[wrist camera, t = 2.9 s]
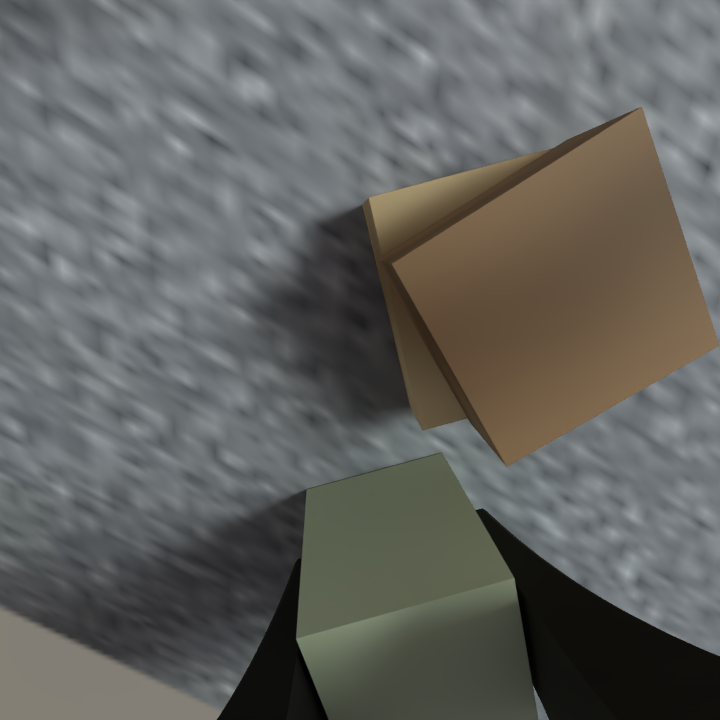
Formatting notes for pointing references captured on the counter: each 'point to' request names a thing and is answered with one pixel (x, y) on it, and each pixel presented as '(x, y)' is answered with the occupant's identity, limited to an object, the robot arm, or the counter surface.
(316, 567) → the sage block
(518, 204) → the walnut slab
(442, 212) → the oak slab
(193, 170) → the counter surface
